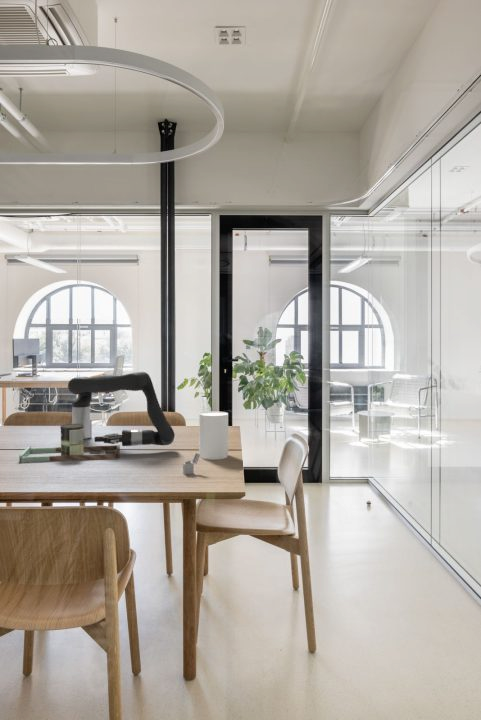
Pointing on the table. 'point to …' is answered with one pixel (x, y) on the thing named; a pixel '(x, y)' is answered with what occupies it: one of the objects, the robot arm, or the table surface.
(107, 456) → the walnut lane
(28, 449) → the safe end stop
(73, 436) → the coffee can
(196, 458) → the lighter
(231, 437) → the table surface
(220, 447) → the canister
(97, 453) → the mats
